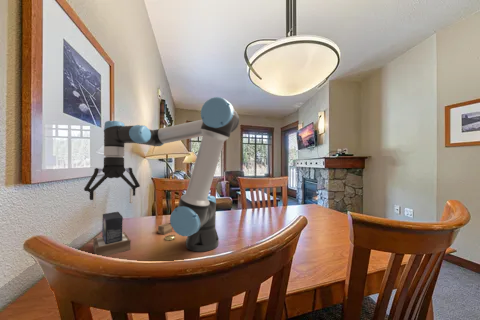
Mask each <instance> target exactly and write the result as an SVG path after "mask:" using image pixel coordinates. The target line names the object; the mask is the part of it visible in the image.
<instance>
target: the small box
mask: <svg viewBox="0 0 480 320" xmlns="http://www.w3.org/2000/svg"><path fill="white" fill-rule="evenodd" d="M123 218H124V217H123V215H122V214H121V213H120V211H114V212H107V213H103V214H102V225H101V226H102V227H101V229H102V230H101V231H102V233H101V234H102V235H101V237H103V239H104V242H105V244H110V243H114V242H119V241H122V233H123V220H124V219H123Z"/></svg>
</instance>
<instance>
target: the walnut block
mask: <svg viewBox="0 0 480 320" xmlns="http://www.w3.org/2000/svg"><path fill="white" fill-rule="evenodd" d="M157 226H158V227H157V233H158V234H161V235H164V236H166V235H168V234H170V233H172V232H173V227H172V226H171V223H163V224H159V225H157Z"/></svg>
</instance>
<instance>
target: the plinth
mask: <svg viewBox="0 0 480 320" xmlns="http://www.w3.org/2000/svg"><path fill="white" fill-rule="evenodd" d="M131 241H132V240H131V239H130V237H129V236H128V235H127V233H126V232H122V241H119V242H114V243H110V244H105V242H104V239H103V237H102V236H100V237H95V238H93V241H92V242H93V244H92V245H93V246H92V248H93V253H94V255H95V254H97V255H102V256H104V257H107V256H110V255H115V254H118V253H122V252H126V251H130V250H131Z"/></svg>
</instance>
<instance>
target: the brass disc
mask: <svg viewBox="0 0 480 320" xmlns="http://www.w3.org/2000/svg"><path fill="white" fill-rule="evenodd" d="M175 239H176V234H169V235H168V234H167V235H165V237H164V240H165V241H168V242H169V241H174V240H175Z"/></svg>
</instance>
